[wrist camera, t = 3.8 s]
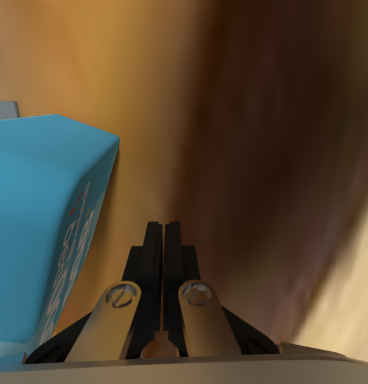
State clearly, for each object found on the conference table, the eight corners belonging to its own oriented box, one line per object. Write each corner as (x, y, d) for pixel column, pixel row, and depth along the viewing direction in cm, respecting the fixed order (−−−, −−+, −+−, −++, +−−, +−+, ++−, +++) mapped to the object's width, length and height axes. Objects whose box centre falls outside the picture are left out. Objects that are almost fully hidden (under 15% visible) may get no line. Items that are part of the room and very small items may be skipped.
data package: (88, 252, 21) (15, 418, 10) (37, 241, 20) (-109, 415, 9) (122, 133, 17) (66, 187, 6) (62, 111, 16) (-140, 129, 5)
